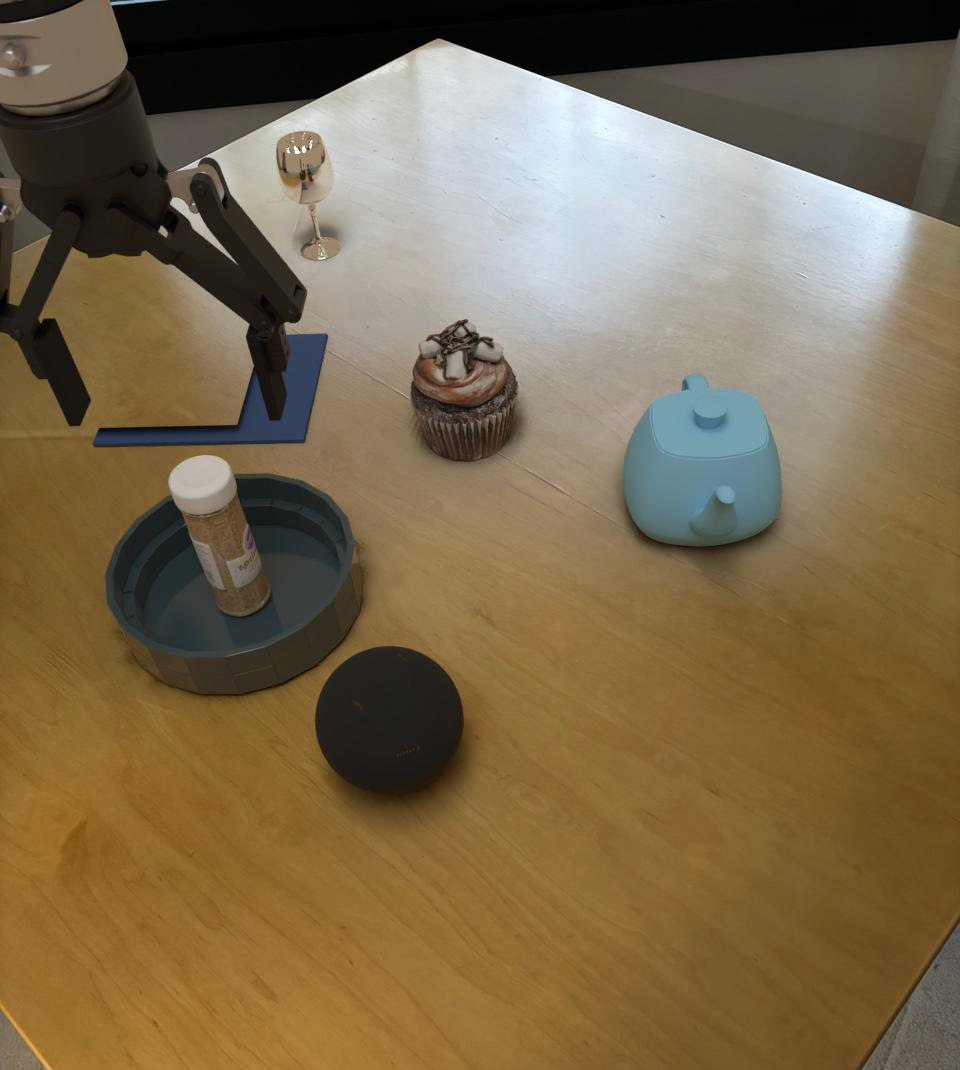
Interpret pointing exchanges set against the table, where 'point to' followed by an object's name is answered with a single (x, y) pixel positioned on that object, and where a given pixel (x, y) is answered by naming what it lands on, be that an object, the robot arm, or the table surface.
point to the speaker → (389, 720)
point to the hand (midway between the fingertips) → (178, 410)
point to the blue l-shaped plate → (245, 409)
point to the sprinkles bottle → (220, 533)
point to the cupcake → (463, 393)
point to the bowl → (190, 605)
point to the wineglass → (307, 183)
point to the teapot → (702, 467)
